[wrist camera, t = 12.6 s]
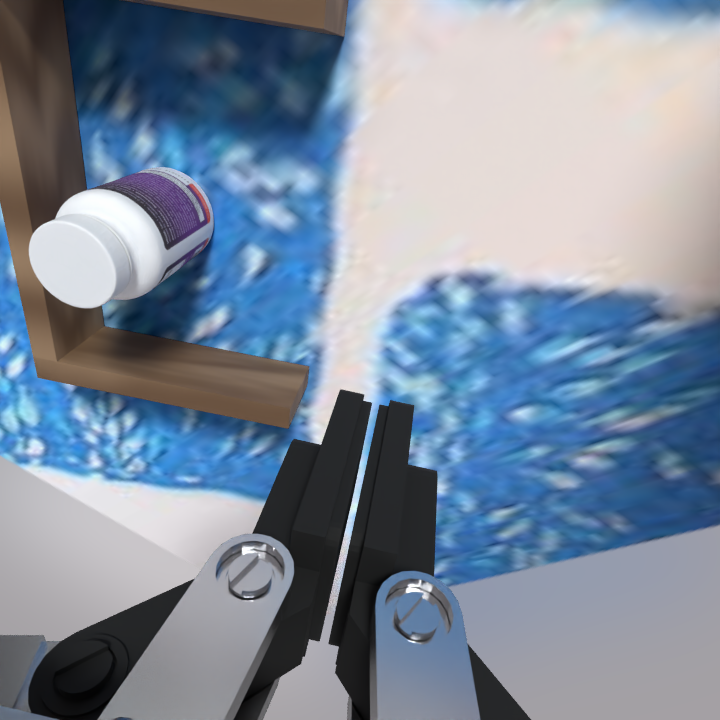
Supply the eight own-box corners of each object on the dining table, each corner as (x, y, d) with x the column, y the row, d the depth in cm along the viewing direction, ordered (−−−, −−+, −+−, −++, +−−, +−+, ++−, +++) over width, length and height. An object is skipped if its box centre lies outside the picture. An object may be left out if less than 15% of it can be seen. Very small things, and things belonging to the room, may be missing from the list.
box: (27, -52, 25) (-60, -78, 21) (348, -1, 24) (327, -17, 20) (86, 341, 36) (37, 377, 32) (307, 385, 35) (288, 428, 31)
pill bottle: (127, 155, 29) (2, 189, 21) (218, 177, 29) (130, 220, 21) (130, 246, 32) (20, 308, 23) (213, 266, 32) (133, 335, 23)
